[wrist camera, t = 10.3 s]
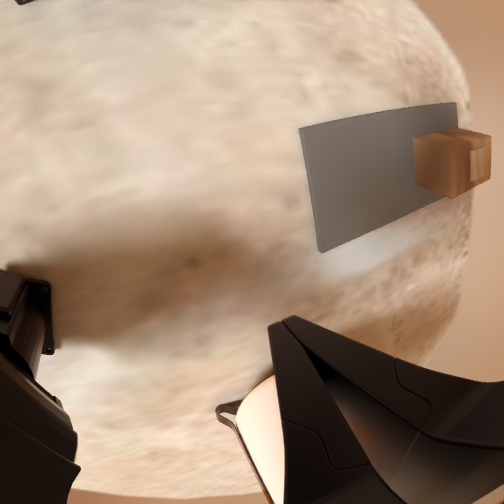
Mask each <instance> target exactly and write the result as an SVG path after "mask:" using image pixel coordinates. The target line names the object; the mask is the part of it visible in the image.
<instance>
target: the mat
mask: <svg viewBox="0 0 504 504" xmlns="http://www.w3.org/2000/svg"><path fill="white" fill-rule="evenodd" d="M454 128H458V119H457V106H456V103H454V102H451V103H441V104H432V105H423V106H416V107H408V108H401V109H394V110H388V111H382V112H376V113H370V114H365V115H359V116H354V117H349V118H344V119H339V120H334V121H329V122H325V123H320V124H316V125H312V126H307V127H303V128H299V133H300V138H301V143H302V149H303V154H304V160H305V165H306V171H307V177H308V183H309V189H310V195H311V201H312V207H313V214H314V221H315V228H316V235H317V242H318V249H319V251H320V252H321V253H324V252H326V251H328V250H331V249H333V248H335V247H337V246H340V245H342V244H344V243H346V242H349V241H351V240H353V239H355V238H357V237H360V236H362V235H364V234H366V233H368V232H371V231H373V230H375V229H377V228H379V227H381V226H384V225H386V224H388V223H390V222H392V221H394V220H397V219H399V218H401V217H403V216H405V215H407V214H409V213H411V212H414V211H416V210H418V209H420V208H422V207H424V206H426V205H428V204H430V203H433V202H435V201H437V200H439V199H441V198H443V197H445V196H444V195H441V194H439V193H436V192H434V191H431V190H428V189H426V188H423V187H420V186H418V185H415V172H414V151H413V138H415V137H419V136H423V135H427V134H431V133H436V132H440V131H445V130H449V129H454Z"/></svg>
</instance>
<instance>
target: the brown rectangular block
mask: <svg viewBox="0 0 504 504" xmlns="http://www.w3.org/2000/svg"><path fill="white" fill-rule="evenodd" d="M413 151H414V172H415V185H418V186H420V187H423V188H426V189H428V190H431V191H434V192H436V193H439V194H441V195H444V196H446V197H449V198H451V199H452V198H454V197H456V196H458V195H460V194H462V193H464V192H466V191H468V190H470V189H471V188H473V187H475V186H477V185H479V184H481V183H483V182H485V181H487V180H489V179H490V174H491V136H489V135H485V134H482V133H477V132H473V131H469V130H464V129H460V128H454V129H449V130H445V131H440V132H436V133H431V134H427V135H423V136H419V137H415V138H413Z"/></svg>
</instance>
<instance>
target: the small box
mask: <svg viewBox="0 0 504 504" xmlns="http://www.w3.org/2000/svg"><path fill="white" fill-rule="evenodd" d="M15 1H16V3H17V4H18V5H22V4H24V3H27V2H29V1H32V0H15Z"/></svg>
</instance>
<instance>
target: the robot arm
mask: <svg viewBox="0 0 504 504" xmlns="http://www.w3.org/2000/svg"><path fill="white" fill-rule="evenodd" d="M43 287H46V288H47V289H48V290H44V289H43ZM268 335H269V342H270V349H271V356H272V362H273V369H274V376H275V383H276V390H277V397H278V404H279V411H280V418H281V426H282V433H283V443H284V494H283V504H504V381H500V382H479V381H474V380H470V379H465V378H461V377H457V376H453V375H449V374H445V373H441V372H437V371H433V370H430V369H427V368H423V367H420V366H417V365H415V364H412V363H409V362H406V361H404V360H401V359H399V358H394V357H393V356H391V355H388V354H386V353H383V352H381V351H378V350H376V349H373V348H371V347H369V346H366V345H364V344H361V343H359V342H356V341H354V340H352V339H349V338H347V337H345V336H342V335H340V334H337V333H335V332H333V331H330V330H328V329H326V328H323V327H321V326H319V325H316V324H314V323H312V322H310V321H307V320H305V319H303V318H300V317H298V316H296V315H291V316H289V317H287V318H285V319H283V320H282V321H281V322H280V321H278V322H276V323H274V324H271V325H269V326H268ZM48 348H50V349H51V350H50V349H48ZM54 352H55V341H54V327H53V305H52V285H51V284H50V283H49V282H47V281H43V280H37V279H31V278H25V277H24V276H22V275H16V274H11V273H5V272H0V504H67V498H68V494H69V491H70V489H71V486H72V483H73V482H74V480H75V478H76V477H77V475H78V474H79V472H80V471H81V467H80V466H78V465H77V464H75V463H74V462H75V458H76V452H77V447H78V437H77V433H76V432H75V431H74V430H73V427H72V424H71V421H70V417H69V416H68V414H67V413H66V412H65V411H64V410H63V407H62V404H61V401H60V400H59V399H58V398H57V397H55V396H52V395H51V394H50V393H49V392H47V391H46V390H45V389H44V388H43V387H42V386H40V385H39V384H38V383H37V382H36V375H37V370H38V365H39V361H40V356H41V354H46V355H53V354H54ZM371 464H372V465H371ZM375 469H376V470H377V471H378V473H379V474H380V475H381V476H382V477H383V479H384V480H385V481H386V482H387V483H388V485H389V486H390V487H391V488H392V489H391V488H390V487H389V486H388V485H387V484H386V483H385V482H384V481H383V480H382V478H381V477H380V476H379V474H378V473H377V471H376V470H375Z"/></svg>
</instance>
